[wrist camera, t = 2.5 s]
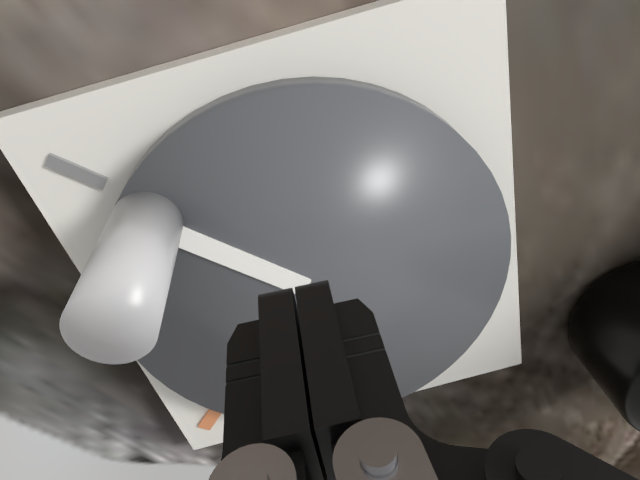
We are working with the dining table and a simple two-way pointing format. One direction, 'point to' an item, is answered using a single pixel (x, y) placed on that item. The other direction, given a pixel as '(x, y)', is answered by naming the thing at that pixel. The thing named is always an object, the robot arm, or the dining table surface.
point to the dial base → (264, 66)
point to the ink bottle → (612, 337)
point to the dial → (295, 232)
